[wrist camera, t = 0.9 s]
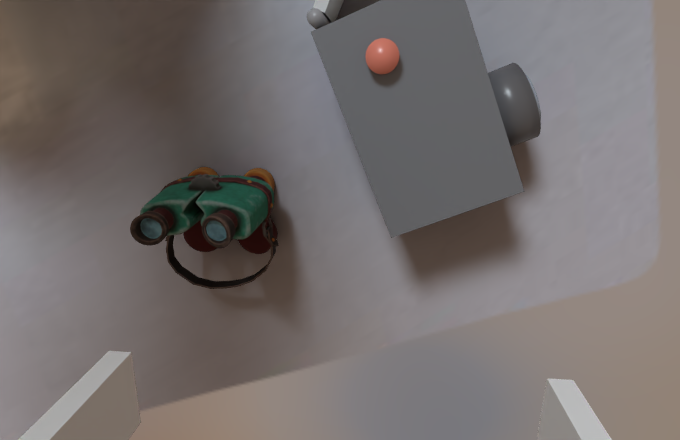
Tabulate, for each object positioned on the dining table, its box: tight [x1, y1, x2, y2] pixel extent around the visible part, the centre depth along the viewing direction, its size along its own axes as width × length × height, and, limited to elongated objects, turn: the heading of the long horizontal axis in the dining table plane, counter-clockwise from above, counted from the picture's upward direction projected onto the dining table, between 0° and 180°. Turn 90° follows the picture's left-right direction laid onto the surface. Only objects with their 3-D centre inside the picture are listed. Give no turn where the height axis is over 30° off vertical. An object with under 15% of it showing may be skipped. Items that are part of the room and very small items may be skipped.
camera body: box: [311, 0, 541, 238], centre depth 31 cm, size 14×12×8 cm
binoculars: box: [130, 167, 278, 289], centre depth 34 cm, size 9×11×10 cm
